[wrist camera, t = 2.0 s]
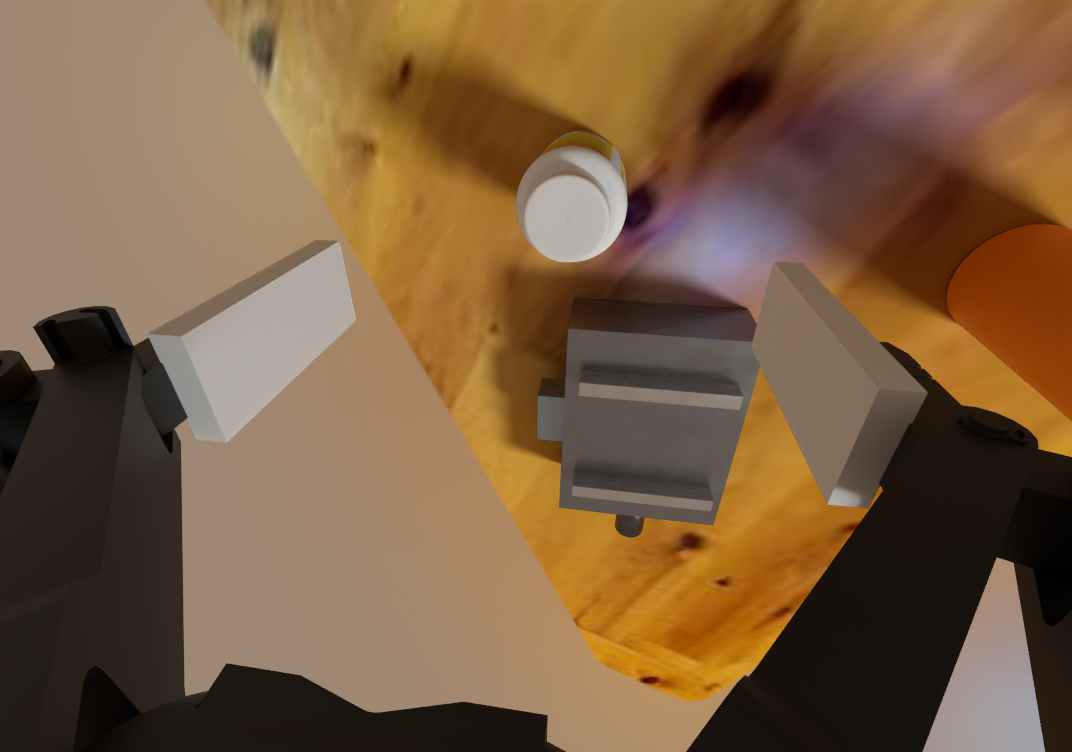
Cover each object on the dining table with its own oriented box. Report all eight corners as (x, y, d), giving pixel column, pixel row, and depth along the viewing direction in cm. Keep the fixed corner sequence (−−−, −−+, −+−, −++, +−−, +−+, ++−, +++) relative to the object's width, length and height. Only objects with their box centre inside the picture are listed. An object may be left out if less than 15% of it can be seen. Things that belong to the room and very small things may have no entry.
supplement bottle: (519, 165, 31) (481, 200, 22) (595, 109, 28) (586, 124, 20) (567, 239, 33) (548, 299, 24) (641, 193, 31) (650, 240, 22)
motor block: (546, 296, 35) (533, 337, 30) (748, 309, 33) (773, 355, 28) (542, 495, 46) (531, 552, 40) (695, 512, 44) (706, 574, 39)
